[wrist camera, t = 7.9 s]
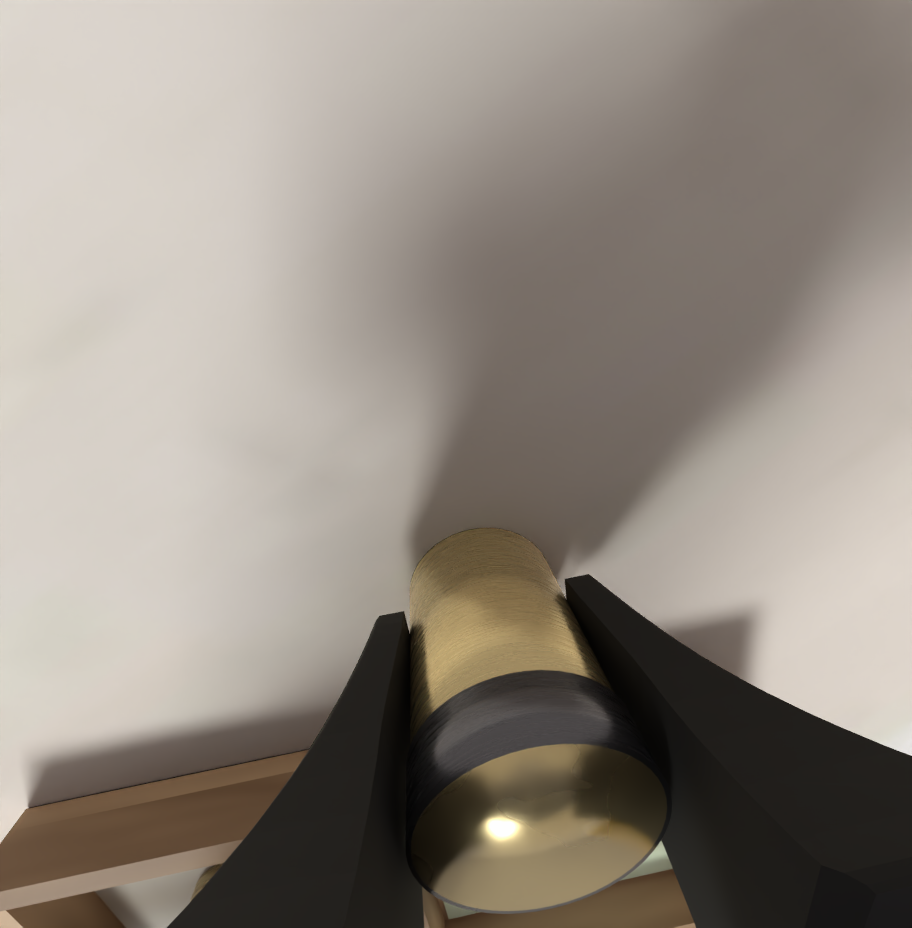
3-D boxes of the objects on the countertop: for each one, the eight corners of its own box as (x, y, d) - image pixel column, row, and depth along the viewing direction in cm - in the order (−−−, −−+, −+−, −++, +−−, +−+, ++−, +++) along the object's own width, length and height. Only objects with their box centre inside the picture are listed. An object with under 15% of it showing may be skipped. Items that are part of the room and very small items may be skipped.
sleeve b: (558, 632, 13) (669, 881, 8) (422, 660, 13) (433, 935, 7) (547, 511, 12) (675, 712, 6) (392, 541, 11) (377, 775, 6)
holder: (696, 854, 18) (733, 924, 16) (165, 973, 17) (133, 1063, 15) (711, 665, 14) (762, 726, 12) (25, 809, 13) (-43, 901, 11)
